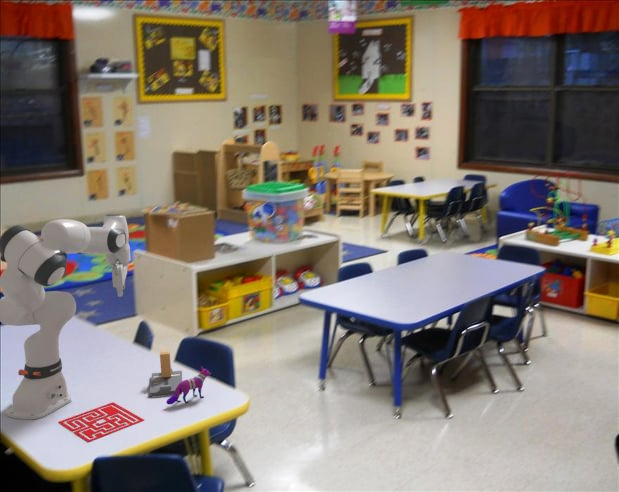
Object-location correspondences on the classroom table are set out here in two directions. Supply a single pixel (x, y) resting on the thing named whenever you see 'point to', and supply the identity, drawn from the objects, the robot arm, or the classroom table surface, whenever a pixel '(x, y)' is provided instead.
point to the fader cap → (165, 363)
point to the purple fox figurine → (189, 386)
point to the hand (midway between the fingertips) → (121, 292)
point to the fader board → (165, 383)
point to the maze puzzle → (90, 432)
